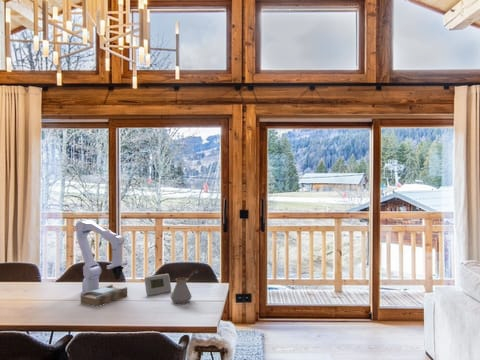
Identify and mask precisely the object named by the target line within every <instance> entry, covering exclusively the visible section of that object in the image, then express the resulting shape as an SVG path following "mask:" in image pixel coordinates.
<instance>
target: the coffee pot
mask: <svg viewBox="0 0 480 360" xmlns="http://www.w3.org/2000/svg"><path fill="white" fill-rule="evenodd" d="M198 273H199V271H198V270H197V269H195V270H193V271H192V273H190V275H189V276H188V277H178V278H177V277H176V278H175V282H176V284H175V286H174V288H173V291H172V293H171V296H170V299H171V301H172V302H173V303H174V304H176V305H185V304H188V303H189V301H191V299H192V297H193V296H192V293H191V292H190V289H189V286H188V285H187V282H188V281H189V280H190V279H191V278H192V277H193V276H194V274H198Z"/></svg>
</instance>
